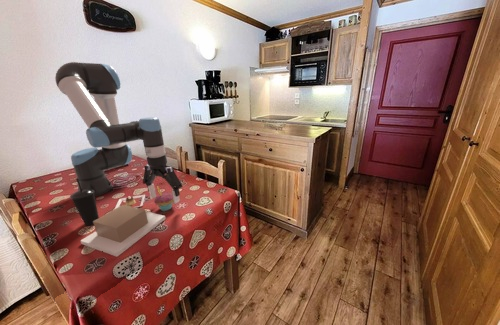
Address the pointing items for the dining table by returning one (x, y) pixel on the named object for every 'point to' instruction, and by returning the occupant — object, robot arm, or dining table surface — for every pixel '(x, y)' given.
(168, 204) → the cupcake
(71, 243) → the dining table surface
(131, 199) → the white square frame
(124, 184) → the dining table surface
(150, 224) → the plinth
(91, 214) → the drinking cup
